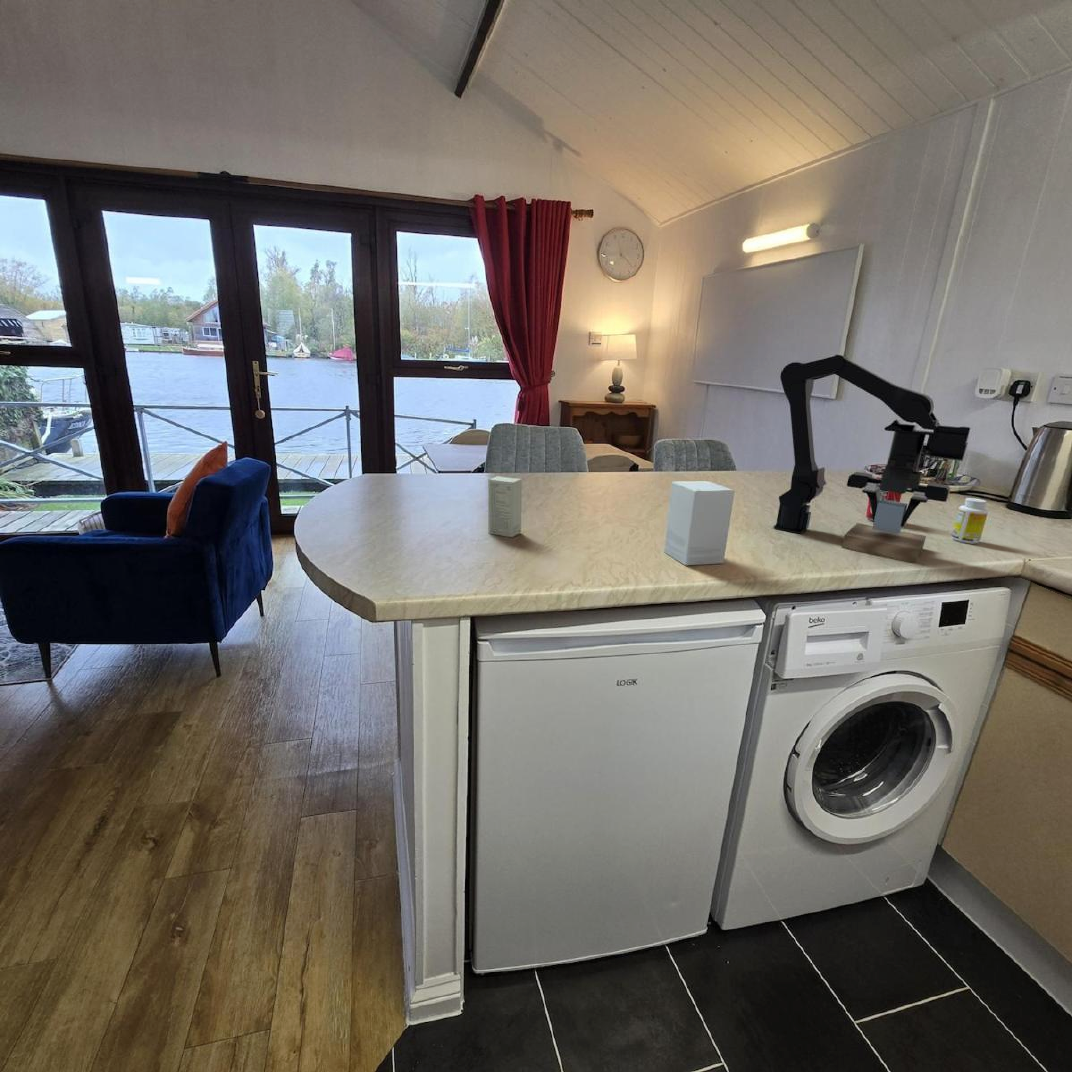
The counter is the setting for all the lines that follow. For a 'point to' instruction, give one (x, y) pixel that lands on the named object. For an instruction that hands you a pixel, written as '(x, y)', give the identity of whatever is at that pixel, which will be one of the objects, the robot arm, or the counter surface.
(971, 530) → the supplement bottle
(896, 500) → the soda can
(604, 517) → the counter surface
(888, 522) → the slate block
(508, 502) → the skincare box
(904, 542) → the walnut stand
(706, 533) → the supplement box
